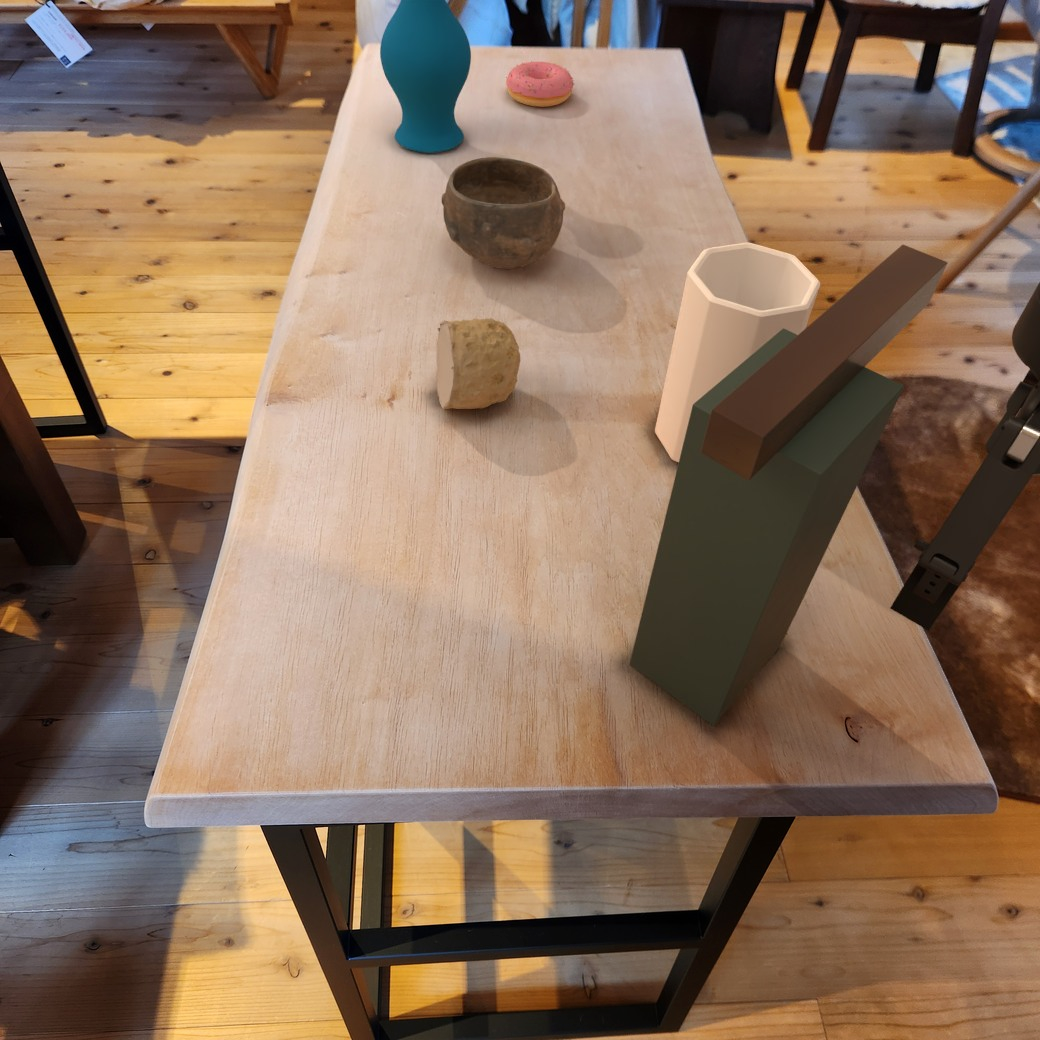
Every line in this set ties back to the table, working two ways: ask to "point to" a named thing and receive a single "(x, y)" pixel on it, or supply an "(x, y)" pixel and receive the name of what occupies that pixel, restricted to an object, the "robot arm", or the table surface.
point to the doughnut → (539, 84)
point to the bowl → (502, 211)
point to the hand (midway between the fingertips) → (950, 557)
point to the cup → (728, 323)
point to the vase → (426, 72)
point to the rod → (819, 362)
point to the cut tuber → (475, 363)
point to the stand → (749, 541)
